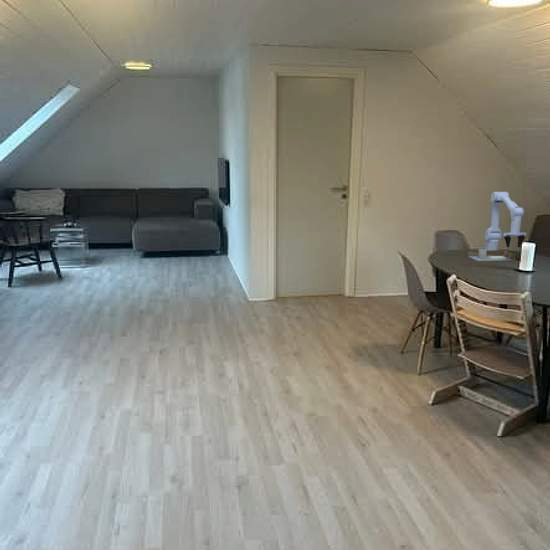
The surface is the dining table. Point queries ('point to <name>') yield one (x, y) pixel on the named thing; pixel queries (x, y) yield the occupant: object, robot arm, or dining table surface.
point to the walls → (494, 253)
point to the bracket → (483, 255)
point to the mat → (494, 258)
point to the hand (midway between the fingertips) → (513, 247)
